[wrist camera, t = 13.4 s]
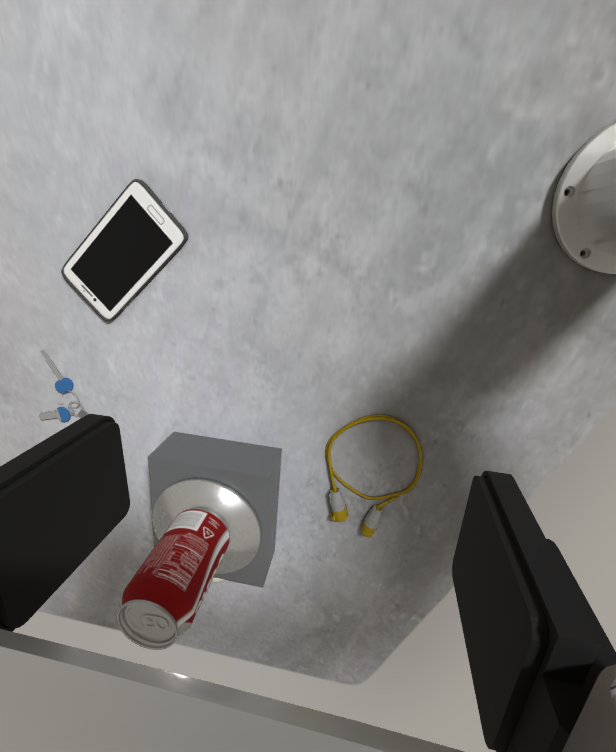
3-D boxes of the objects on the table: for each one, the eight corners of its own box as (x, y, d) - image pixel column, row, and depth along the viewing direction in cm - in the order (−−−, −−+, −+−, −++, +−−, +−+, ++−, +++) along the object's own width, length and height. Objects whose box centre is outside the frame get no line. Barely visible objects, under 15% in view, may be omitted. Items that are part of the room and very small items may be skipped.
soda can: (173, 500, 43) (104, 590, 32) (231, 508, 42) (180, 604, 31) (179, 547, 45) (115, 647, 34) (233, 555, 44) (186, 661, 33)
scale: (281, 448, 46) (268, 479, 40) (274, 554, 52) (261, 594, 46) (173, 431, 48) (145, 458, 42) (178, 535, 54) (154, 572, 48)
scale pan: (264, 487, 41) (262, 492, 41) (259, 577, 46) (257, 582, 45) (152, 468, 43) (148, 472, 42) (158, 557, 47) (155, 562, 47)
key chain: (123, 431, 50) (119, 434, 49) (86, 461, 52) (82, 464, 52) (46, 347, 48) (41, 349, 47) (11, 382, 50) (6, 385, 49)
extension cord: (289, 481, 48) (286, 490, 47) (369, 393, 43) (368, 400, 41) (364, 535, 49) (364, 546, 48) (451, 456, 44) (455, 465, 42)
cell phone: (193, 236, 40) (189, 236, 39) (112, 323, 45) (107, 325, 44) (141, 176, 39) (135, 174, 38) (63, 271, 44) (57, 272, 43)
